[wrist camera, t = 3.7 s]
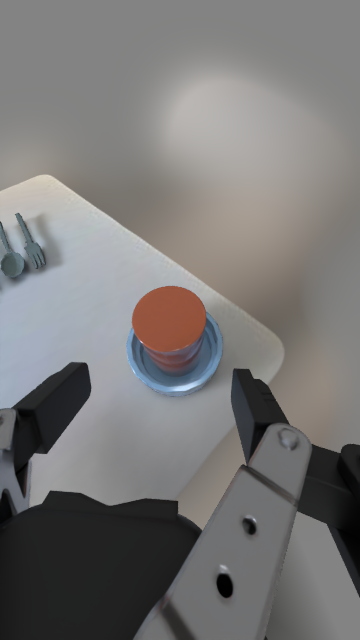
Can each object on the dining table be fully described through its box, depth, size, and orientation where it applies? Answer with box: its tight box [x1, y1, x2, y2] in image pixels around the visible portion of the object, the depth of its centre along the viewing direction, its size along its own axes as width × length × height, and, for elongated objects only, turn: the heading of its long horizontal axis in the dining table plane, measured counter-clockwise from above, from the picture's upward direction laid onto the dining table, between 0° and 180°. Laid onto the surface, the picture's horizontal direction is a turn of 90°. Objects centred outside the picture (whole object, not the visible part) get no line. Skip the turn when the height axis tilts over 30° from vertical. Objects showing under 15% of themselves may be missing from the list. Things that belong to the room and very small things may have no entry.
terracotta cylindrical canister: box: [132, 286, 206, 377], centre depth 19 cm, size 6×6×8 cm
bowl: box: [127, 312, 223, 397], centre depth 21 cm, size 9×10×4 cm
